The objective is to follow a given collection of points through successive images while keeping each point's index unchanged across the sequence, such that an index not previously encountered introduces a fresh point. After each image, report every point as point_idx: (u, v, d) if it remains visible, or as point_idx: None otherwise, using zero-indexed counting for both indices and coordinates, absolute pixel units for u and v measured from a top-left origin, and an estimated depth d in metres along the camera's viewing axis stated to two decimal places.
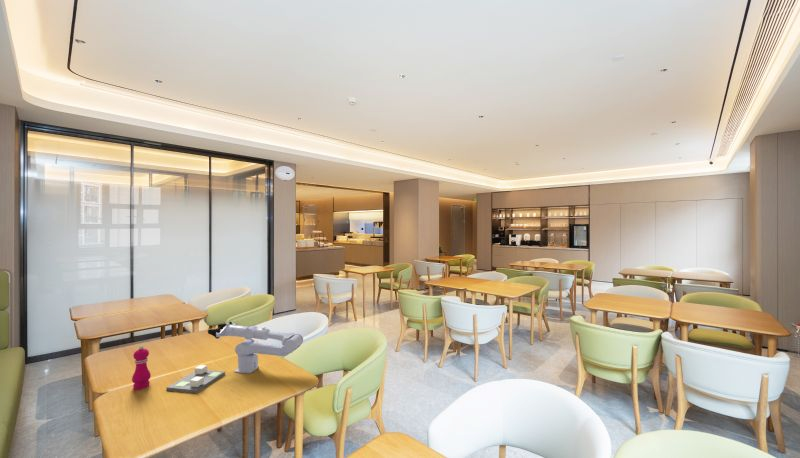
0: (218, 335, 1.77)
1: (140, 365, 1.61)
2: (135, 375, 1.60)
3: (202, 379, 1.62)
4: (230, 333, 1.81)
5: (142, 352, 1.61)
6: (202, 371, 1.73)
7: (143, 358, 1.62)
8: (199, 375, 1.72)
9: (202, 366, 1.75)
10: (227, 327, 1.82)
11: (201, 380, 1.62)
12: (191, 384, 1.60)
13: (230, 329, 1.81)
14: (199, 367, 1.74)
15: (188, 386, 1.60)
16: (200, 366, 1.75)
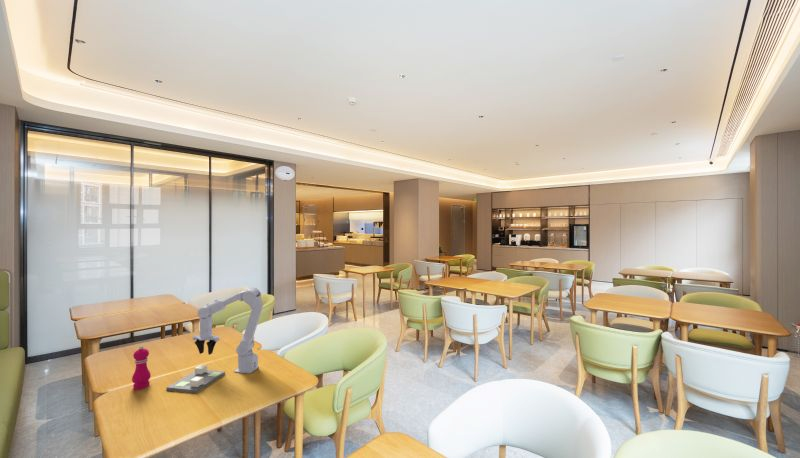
0: (218, 338, 1.80)
1: (140, 365, 1.61)
2: (135, 375, 1.60)
3: (202, 379, 1.62)
4: (211, 330, 1.81)
5: (142, 352, 1.61)
6: (202, 371, 1.73)
7: (143, 358, 1.62)
8: (199, 375, 1.72)
9: (202, 366, 1.75)
10: (205, 336, 1.78)
11: (201, 380, 1.62)
12: (191, 384, 1.60)
13: (207, 332, 1.79)
14: (199, 367, 1.74)
15: (188, 386, 1.60)
16: (200, 366, 1.75)
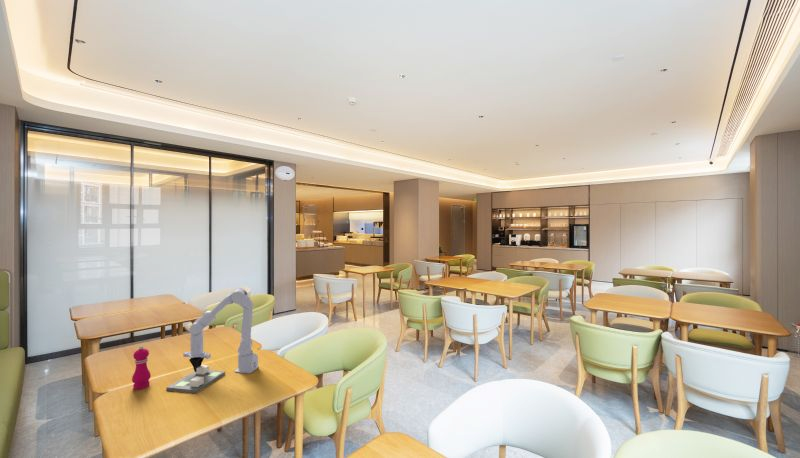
0: (209, 355, 1.74)
1: (140, 365, 1.61)
2: (135, 375, 1.60)
3: (202, 379, 1.62)
4: (202, 347, 1.75)
5: (142, 352, 1.61)
6: (204, 371, 1.73)
7: (143, 358, 1.62)
8: (199, 375, 1.72)
9: (204, 366, 1.75)
10: (196, 354, 1.72)
11: (201, 380, 1.62)
12: (191, 384, 1.60)
13: (198, 349, 1.73)
14: (200, 367, 1.74)
15: (188, 386, 1.60)
16: (201, 366, 1.75)
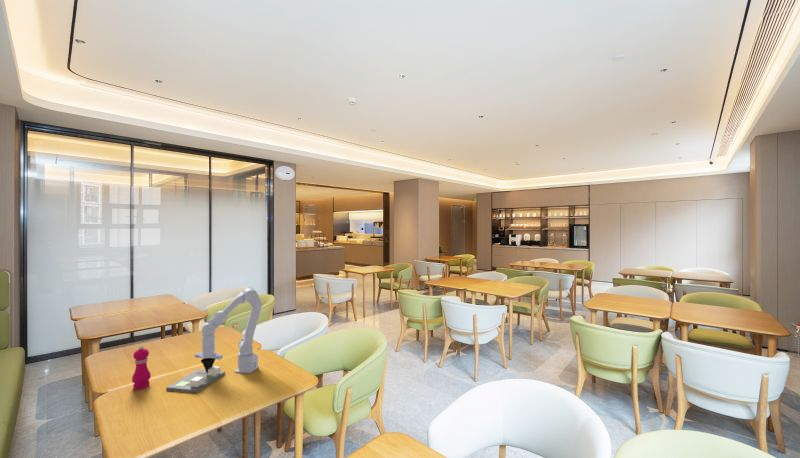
0: (221, 356, 1.73)
1: (140, 365, 1.61)
2: (135, 375, 1.60)
3: (202, 379, 1.62)
4: (213, 348, 1.74)
5: (142, 352, 1.61)
6: (216, 372, 1.72)
7: (143, 358, 1.62)
8: (199, 375, 1.72)
9: (215, 367, 1.74)
10: (208, 355, 1.71)
11: (201, 380, 1.62)
12: (191, 384, 1.60)
13: (210, 350, 1.72)
14: (212, 368, 1.73)
15: (188, 386, 1.60)
16: (213, 367, 1.73)
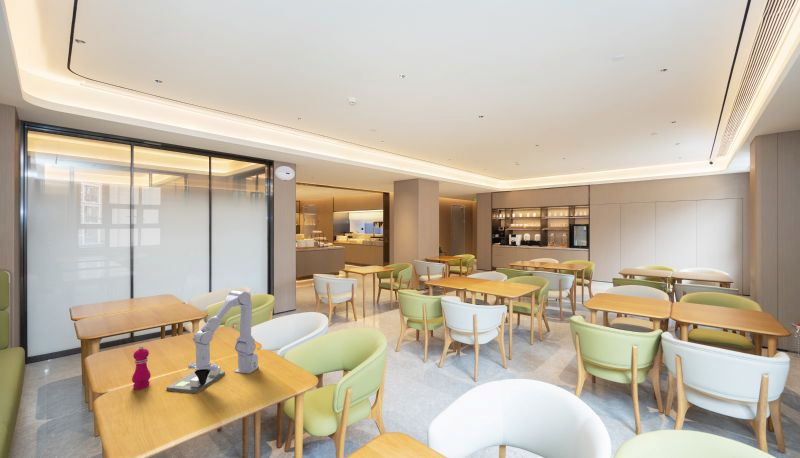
0: (216, 367, 1.60)
1: (140, 365, 1.61)
2: (135, 375, 1.60)
3: None
4: (208, 358, 1.61)
5: (142, 352, 1.61)
6: (216, 372, 1.72)
7: (143, 358, 1.62)
8: None
9: None
10: (202, 365, 1.58)
11: None
12: (191, 384, 1.60)
13: (204, 360, 1.59)
14: None
15: (188, 386, 1.60)
16: None
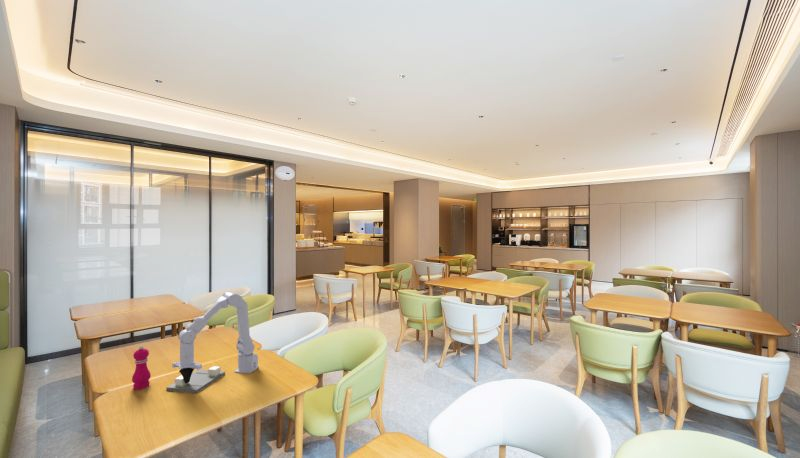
0: (200, 365, 1.61)
1: (140, 365, 1.61)
2: (135, 375, 1.60)
3: None
4: (192, 357, 1.62)
5: (142, 352, 1.61)
6: (216, 372, 1.72)
7: (143, 358, 1.62)
8: (199, 375, 1.72)
9: (215, 367, 1.74)
10: (186, 364, 1.60)
11: None
12: (176, 383, 1.61)
13: (188, 359, 1.60)
14: (212, 368, 1.73)
15: (188, 386, 1.60)
16: (213, 368, 1.73)
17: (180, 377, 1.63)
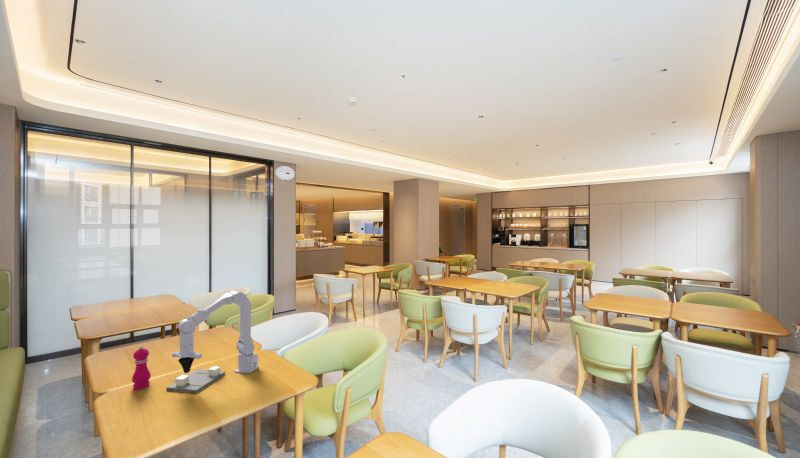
0: (200, 355, 1.61)
1: (140, 365, 1.61)
2: (135, 375, 1.60)
3: (187, 378, 1.64)
4: (192, 346, 1.62)
5: (142, 352, 1.61)
6: (216, 372, 1.72)
7: (143, 358, 1.62)
8: (199, 375, 1.72)
9: (215, 367, 1.74)
10: (186, 354, 1.60)
11: (186, 379, 1.63)
12: (176, 383, 1.61)
13: (188, 348, 1.60)
14: (212, 368, 1.73)
15: (188, 386, 1.60)
16: (213, 368, 1.73)
17: (180, 377, 1.63)
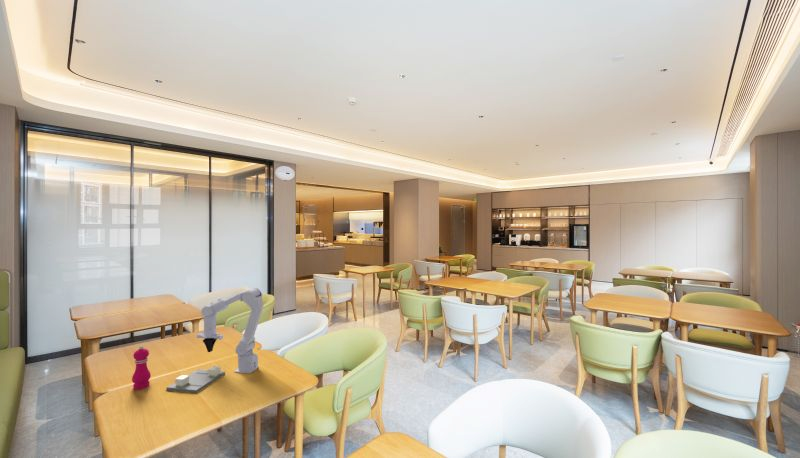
0: (221, 336, 1.83)
1: (140, 365, 1.61)
2: (135, 375, 1.60)
3: (187, 378, 1.64)
4: (215, 328, 1.84)
5: (142, 352, 1.61)
6: (216, 372, 1.72)
7: (143, 358, 1.62)
8: (199, 375, 1.72)
9: (215, 367, 1.74)
10: (209, 335, 1.81)
11: (186, 379, 1.63)
12: (176, 383, 1.61)
13: (211, 330, 1.82)
14: (212, 368, 1.73)
15: (188, 386, 1.60)
16: (213, 368, 1.73)
17: (180, 377, 1.63)
